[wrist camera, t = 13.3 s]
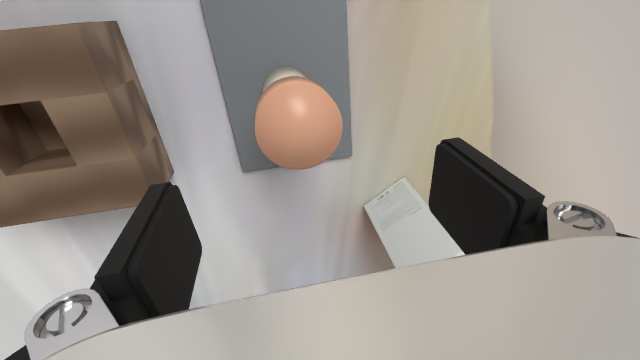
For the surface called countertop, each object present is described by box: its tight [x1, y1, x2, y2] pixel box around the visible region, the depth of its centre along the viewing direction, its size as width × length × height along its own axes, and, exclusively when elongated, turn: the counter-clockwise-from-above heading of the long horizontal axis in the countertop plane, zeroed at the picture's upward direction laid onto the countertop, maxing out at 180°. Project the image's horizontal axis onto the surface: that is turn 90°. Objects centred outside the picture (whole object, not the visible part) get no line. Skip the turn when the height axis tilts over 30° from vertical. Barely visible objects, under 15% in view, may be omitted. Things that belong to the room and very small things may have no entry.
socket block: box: [0, 21, 174, 227], centre depth 24 cm, size 14×14×6 cm
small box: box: [364, 177, 465, 268], centre depth 33 cm, size 8×6×13 cm
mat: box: [200, 0, 352, 172], centre depth 29 cm, size 16×12×1 cm
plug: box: [255, 66, 343, 170], centre depth 24 cm, size 6×6×11 cm
